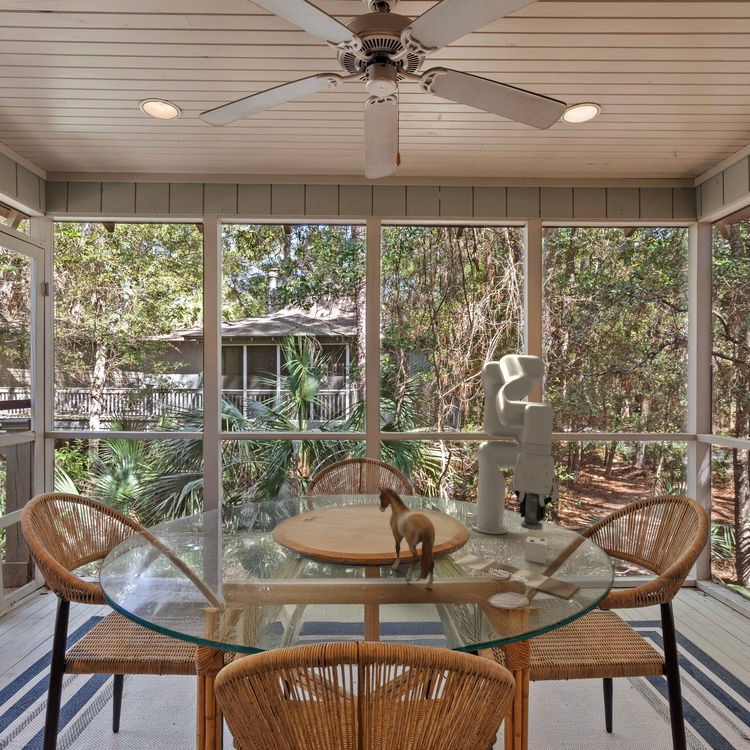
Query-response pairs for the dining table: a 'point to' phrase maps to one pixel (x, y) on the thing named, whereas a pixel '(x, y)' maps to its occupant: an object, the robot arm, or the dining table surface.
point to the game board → (534, 580)
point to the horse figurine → (410, 533)
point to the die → (536, 549)
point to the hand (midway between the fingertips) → (532, 517)
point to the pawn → (531, 512)
